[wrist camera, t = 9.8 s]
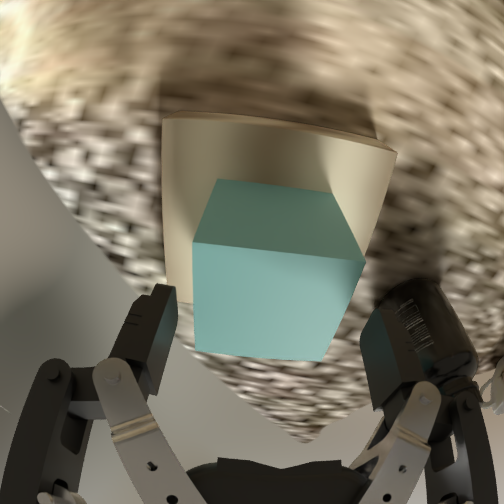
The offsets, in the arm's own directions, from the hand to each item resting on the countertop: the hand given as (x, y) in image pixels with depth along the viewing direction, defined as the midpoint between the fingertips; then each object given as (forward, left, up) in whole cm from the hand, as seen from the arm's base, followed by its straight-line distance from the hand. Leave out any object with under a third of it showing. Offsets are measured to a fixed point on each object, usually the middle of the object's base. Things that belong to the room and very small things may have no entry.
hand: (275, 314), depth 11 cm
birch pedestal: (0, 0, -9) cm, 9 cm away
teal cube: (0, 0, -6) cm, 6 cm away
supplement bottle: (-14, +7, -9) cm, 18 cm away
